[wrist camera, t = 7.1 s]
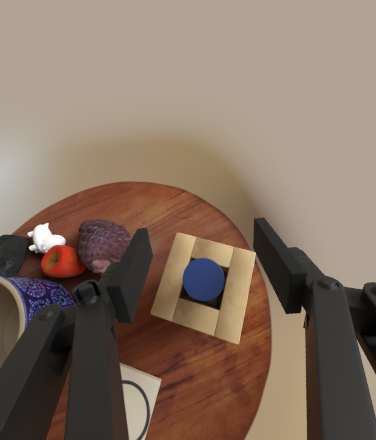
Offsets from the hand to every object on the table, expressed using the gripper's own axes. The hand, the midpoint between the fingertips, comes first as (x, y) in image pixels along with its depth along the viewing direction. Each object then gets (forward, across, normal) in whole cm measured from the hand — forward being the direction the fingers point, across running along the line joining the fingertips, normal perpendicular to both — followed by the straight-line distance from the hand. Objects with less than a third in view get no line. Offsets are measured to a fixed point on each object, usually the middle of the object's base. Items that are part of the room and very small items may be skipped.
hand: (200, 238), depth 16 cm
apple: (+20, -26, -16) cm, 36 cm away
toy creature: (+22, -36, -10) cm, 44 cm away
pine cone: (+22, -19, -14) cm, 32 cm away
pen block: (+16, 0, -20) cm, 26 cm away
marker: (+6, 0, -10) cm, 12 cm away
